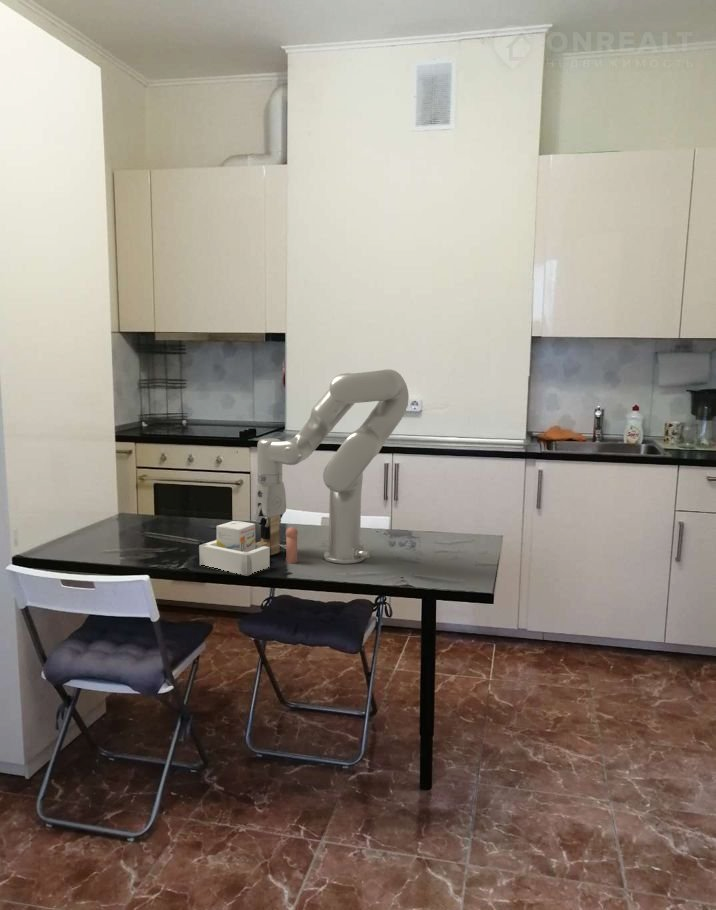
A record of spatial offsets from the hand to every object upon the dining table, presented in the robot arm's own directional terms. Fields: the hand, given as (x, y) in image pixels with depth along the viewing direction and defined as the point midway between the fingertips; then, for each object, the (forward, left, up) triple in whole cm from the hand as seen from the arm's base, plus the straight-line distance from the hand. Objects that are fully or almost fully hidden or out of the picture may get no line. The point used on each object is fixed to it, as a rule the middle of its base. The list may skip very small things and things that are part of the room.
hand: (270, 536), depth 224 cm
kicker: (0, +4, -5) cm, 6 cm away
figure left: (-11, +4, -5) cm, 13 cm away
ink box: (+2, +14, -6) cm, 15 cm away
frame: (0, +17, -5) cm, 17 cm away
